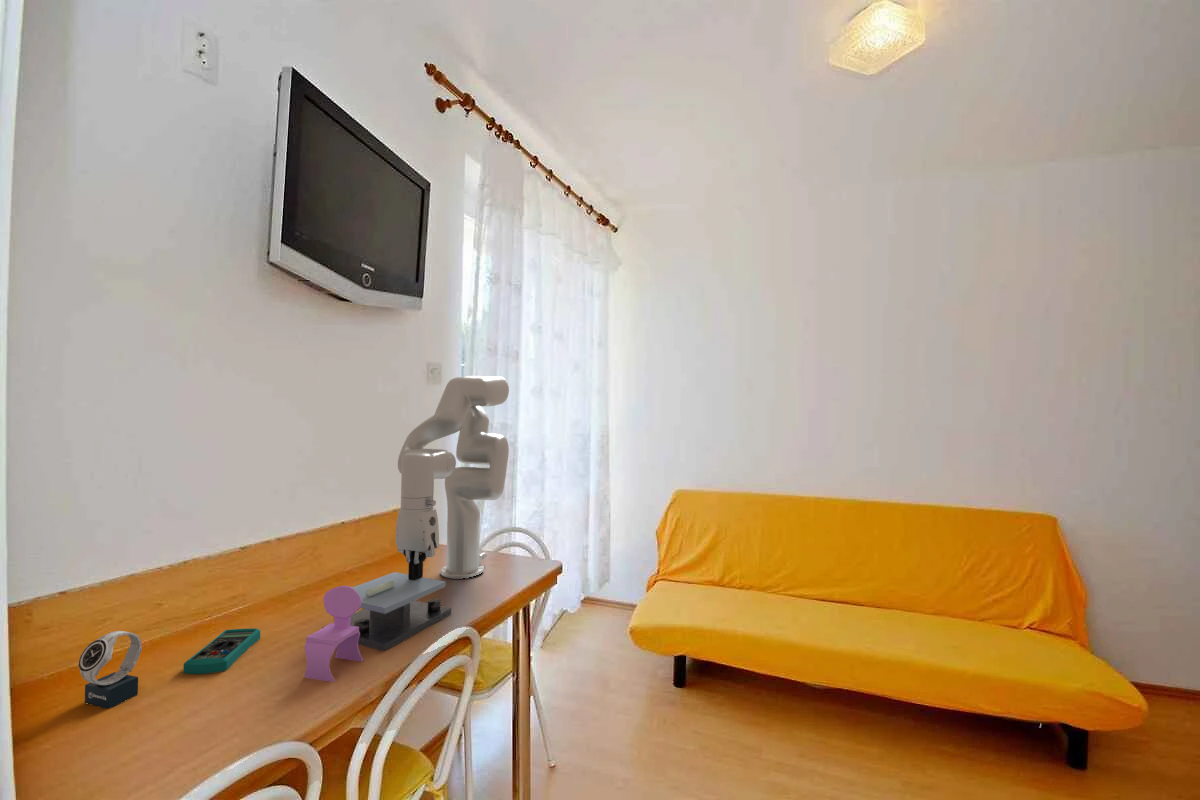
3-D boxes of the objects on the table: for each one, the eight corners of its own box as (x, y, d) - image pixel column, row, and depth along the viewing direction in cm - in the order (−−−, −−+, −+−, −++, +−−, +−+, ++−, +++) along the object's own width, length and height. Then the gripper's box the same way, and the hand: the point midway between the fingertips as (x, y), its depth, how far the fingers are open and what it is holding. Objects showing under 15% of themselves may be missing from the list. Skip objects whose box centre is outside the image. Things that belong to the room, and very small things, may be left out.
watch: (70, 710, 86) (71, 642, 86) (125, 684, 94) (127, 622, 94) (95, 715, 85) (96, 647, 85) (149, 689, 93) (150, 626, 93)
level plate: (394, 576, 133) (394, 565, 133) (445, 586, 127) (445, 574, 127) (329, 601, 116) (330, 587, 116) (385, 613, 110) (385, 599, 110)
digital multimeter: (180, 677, 97) (180, 661, 98) (223, 641, 112) (224, 627, 112) (224, 675, 99) (224, 659, 99) (261, 639, 113) (261, 626, 113)
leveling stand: (393, 601, 135) (394, 576, 135) (451, 614, 128) (451, 587, 128) (321, 634, 115) (322, 604, 115) (384, 651, 108) (385, 619, 108)
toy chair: (297, 678, 97) (299, 596, 97) (332, 656, 106) (333, 581, 106) (336, 684, 95) (338, 601, 96) (368, 661, 104) (369, 585, 104)
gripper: (451, 503, 130) (450, 578, 129) (404, 498, 135) (403, 569, 135) (431, 508, 123) (429, 588, 123) (382, 502, 128) (380, 578, 128)
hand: (415, 578), depth 129 cm, fingers closed
